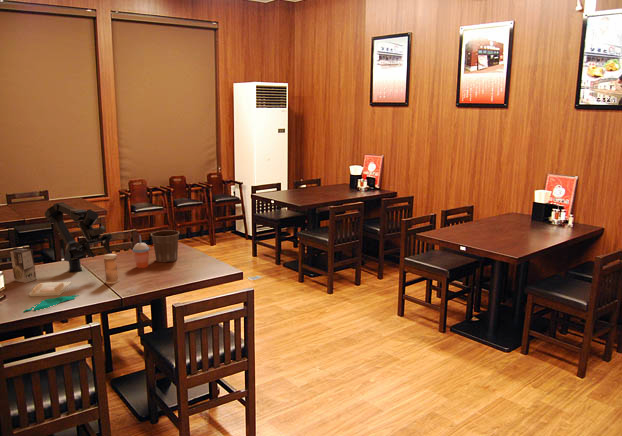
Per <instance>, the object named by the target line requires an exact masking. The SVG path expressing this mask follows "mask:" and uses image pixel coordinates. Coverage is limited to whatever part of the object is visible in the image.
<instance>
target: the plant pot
mask: <svg viewBox="0 0 622 436" xmlns="http://www.w3.org/2000/svg"><path fill="white" fill-rule="evenodd" d="M179 236H180V231H178V230H174V229H173V230H170V229H168V230H158V231H157V230H156V231H154V232H152V233H150V237H151V240H152V243H153V250H154V254H155V261H156V262H158V263H168V262H170V263H171V262H176V261H178V253H179V252H178V248H179V238H180V237H179Z"/></svg>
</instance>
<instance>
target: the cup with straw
mask: <svg viewBox="0 0 622 436" xmlns="http://www.w3.org/2000/svg"><path fill="white" fill-rule="evenodd" d="M138 237H139V242H138V243H135V245H134V246H133V248H132V252H133V256H134V262H135V265H136V266H135V267H136V268H138V269H144V268H145V269H146V268H148V266H149V259H150V257H149V256H150V255H149V254H150V253H149V252H150V247H149V245H148V244H146V242H142V235H139V236H138Z"/></svg>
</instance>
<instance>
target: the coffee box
mask: <svg viewBox="0 0 622 436" xmlns="http://www.w3.org/2000/svg"><path fill="white" fill-rule="evenodd" d="M33 250H34V249H29V248H23V247H20V248H17V249H14V250H11V251H9V252H10V259H11V265H12V273H13V280H14V281H15V282H20V283H25V284H26V283H29V282H32V281H35V280H36V281H37V276H36V275H37V273H36V265H35V258H34V251H33Z"/></svg>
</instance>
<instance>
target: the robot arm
mask: <svg viewBox="0 0 622 436" xmlns="http://www.w3.org/2000/svg"><path fill="white" fill-rule="evenodd" d="M64 215H67V216H69V217H70V219H71V221H73V222H75V223H77V222H78V223H77V229H80V230H81V232H82V237H83V239H79V240H78V241H75V238H74V237H73V235H72V234H71V232H70V230H69V228H68V227H67V225H66V223H65V221H64ZM44 217H45V218H46V219H47V221H48V222H49V223H51V225H54V226H55V228H56V230H57V232H58V234H59V236H60V237H61V239H62V241H63V242H64V244H65V254H64V255H63V259H64V261H65V262H68V266H69V268H68V273H75V272H82V271H83V269H82V266H81V260H82V259H84V258H85V254H87V255H88V256H90V257H91V258H95V255H94V252H93V250H92V249H91V247H90V245H91V244H97V243H101V244H102V247H103V248H104V249H105V250H106V252H107V254H111V248H110V242H111V240H112V239H113V237H114V236H113V234H111V233H105V232H106V227H105V226H104V225H101V226H98V227H97V228H95V227H94V226H93V225H94V224H95V223H96V222H97V220H98V218H99V213H97V211H95V210H92V209H91V208H89V209H87V210H86V209H84V208H76V207H74V206H71V205H70V204H69V205H68V204H67V203H65V202H64V201H62V202H61V201H60V202H55V203H54V204H52V205H51V206H50V207H49V208H48V207H47V209H46V210H45V211H44ZM104 233H105V234H104ZM101 235H102V237H101Z"/></svg>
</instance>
